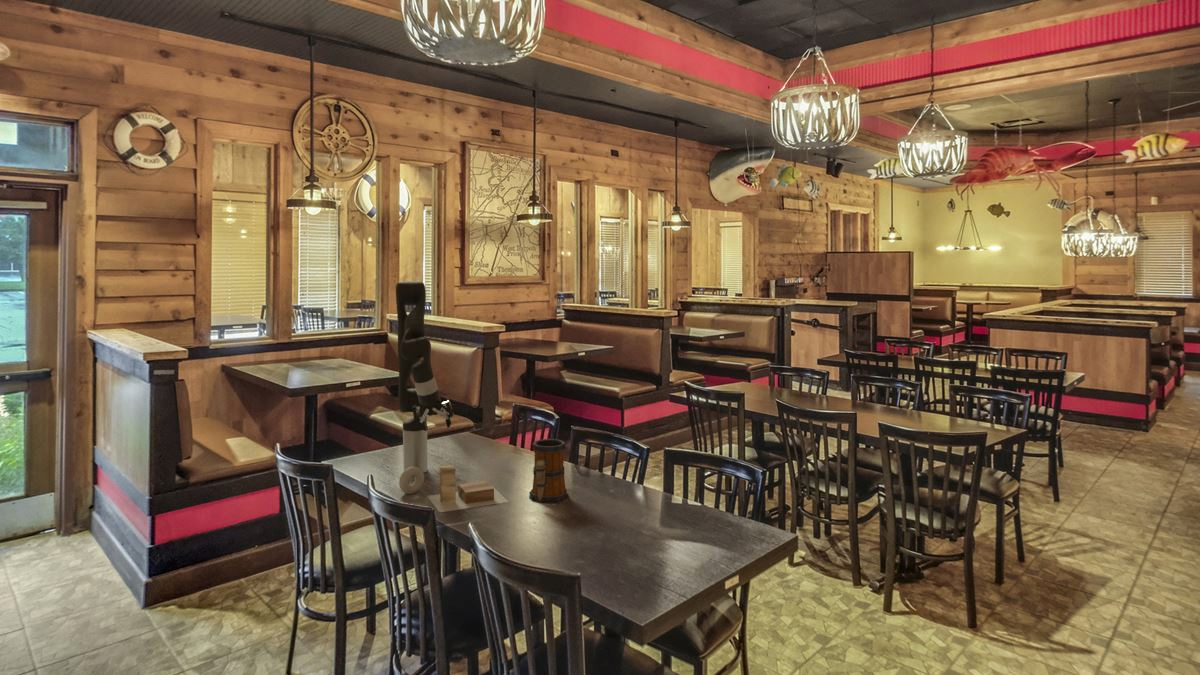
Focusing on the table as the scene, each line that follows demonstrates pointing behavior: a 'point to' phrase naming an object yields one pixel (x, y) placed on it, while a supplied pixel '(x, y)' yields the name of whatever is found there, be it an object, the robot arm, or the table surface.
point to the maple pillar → (447, 484)
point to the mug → (548, 472)
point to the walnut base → (475, 492)
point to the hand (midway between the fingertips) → (437, 428)
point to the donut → (406, 477)
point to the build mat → (461, 504)
